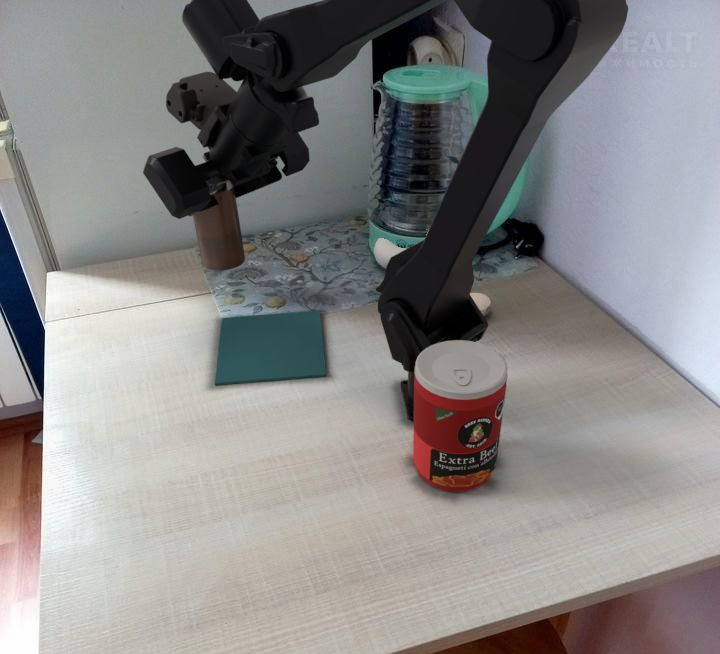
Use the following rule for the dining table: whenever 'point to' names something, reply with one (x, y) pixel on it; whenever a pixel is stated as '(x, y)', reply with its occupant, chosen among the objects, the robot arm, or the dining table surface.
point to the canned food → (458, 413)
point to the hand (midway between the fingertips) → (207, 205)
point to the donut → (385, 251)
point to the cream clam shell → (481, 302)
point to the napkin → (270, 348)
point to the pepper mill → (220, 232)
